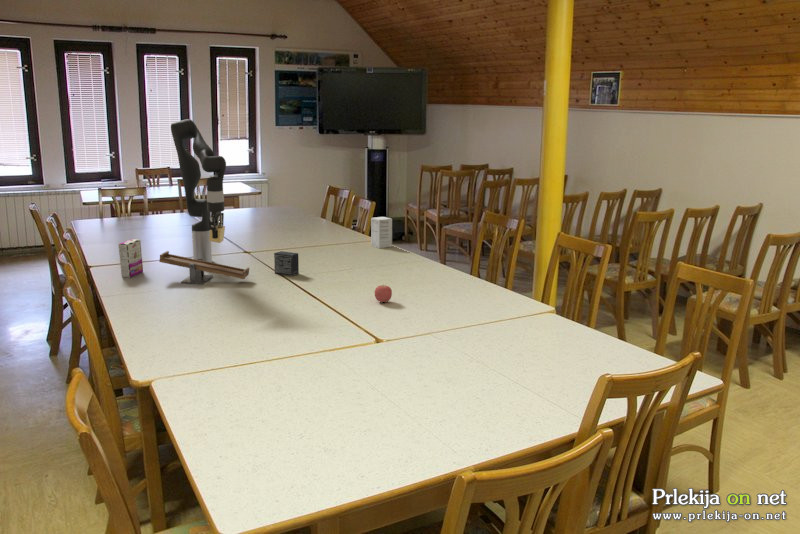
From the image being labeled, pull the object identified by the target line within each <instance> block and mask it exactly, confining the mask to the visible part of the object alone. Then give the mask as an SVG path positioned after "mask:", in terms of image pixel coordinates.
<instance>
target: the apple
mask: <svg viewBox="0 0 800 534" xmlns="http://www.w3.org/2000/svg"><path fill="white" fill-rule="evenodd" d="M392 295H393V291H392V288H391V287H390V286H388V285H386V284H384V283H383V284H381V285H378V286H376V288H375V290H374V296H375V299H376V300H377V302H379V301H380V302H379V303H381V302H385V303H387V302H386V301H388V302H389V301H390V300H391V299H392Z"/></svg>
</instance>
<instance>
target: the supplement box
mask: <svg viewBox="0 0 800 534" xmlns="http://www.w3.org/2000/svg"><path fill="white" fill-rule="evenodd" d="M370 223H371V224H370V231H371V233H370V234H371V235H370V246H371V247H375V248H378V249H383V248H384V249H385V248H392V247H393V218H391V217H388V216H387V217H386V216H377V217H371V219H370ZM390 245H391V246H390Z"/></svg>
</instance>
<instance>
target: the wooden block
mask: <svg viewBox="0 0 800 534" xmlns="http://www.w3.org/2000/svg"><path fill="white" fill-rule="evenodd" d="M213 227H214V226H213ZM225 231H226V225H223V226H221V225H218V227H217V234H218V238H217V239H214V238H212V230H210V237H209V241H211V243H217V244H220V243H222V242H224V239H225Z"/></svg>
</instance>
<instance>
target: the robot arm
mask: <svg viewBox="0 0 800 534" xmlns="http://www.w3.org/2000/svg"><path fill="white" fill-rule="evenodd" d="M170 132H171V136H172V139H173V142H174V143H173V144H174V146H175V150H176V153H177V158H178V164H179V165H178V166H179V170H180V174H181V179H182V184H183V188H184V193H185V203H186V209H187V213H188V216H190V217H194V218H201V220H200V221H199V222H198V221H197V222H196V223H193V224H191V235H192V236H191V239H192V255H193V256H192V259H196V260H198V259H203V261H206V262H211V263H213V254H212V251H213V250H212V241H209V237H210V230H212V238H214V239H217V238H218V234H217V227H218V225H221V226H224V220H225V219H224V218H225V217H224V216H225V214H224V211H225V194H224V183H223V182H224V178H225V174H226V173H225V172H226V169H227V162H226V159H225V158H224V157H223V156H222V155H215V152H214V151H213V150H212V148H211V147H210V146H209V144H207V143H206V141H205V138H204V137H203V135H202V134H201V132H200V130H199V128H198V126H197V125H196V123H195V122H194V121H193V120H192V119H190V118H187V119H183V120H178V121H174V122H172V123H171V125H170ZM191 139H194V140H193V143H192V150H193V151H192V152H194V154H195V156H196V157H197V158H198V159H199V161H200V162H199V161H198V160H197V158H196V157H194V156H193V154H191V153H190V152H189V151H188V150H187V149H186V147H185V146H184V143H183V141H187V140H191ZM200 164H201V167H200ZM201 168H202V170H203V171H204V172H206V173H214V175H213V176H210V177H207V179H206V198H196V197H195V191H196V188H197V186H198V185H199V183H200V180H201V178H202V174H201V173H202V172H201ZM213 226H214V227H213Z"/></svg>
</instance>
